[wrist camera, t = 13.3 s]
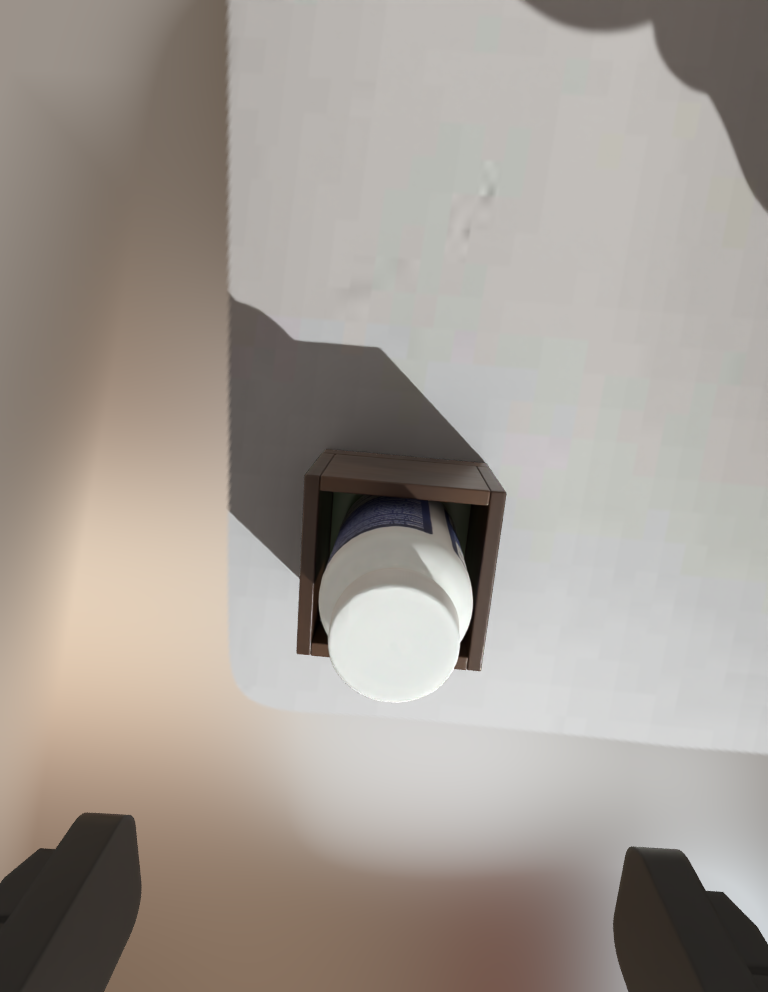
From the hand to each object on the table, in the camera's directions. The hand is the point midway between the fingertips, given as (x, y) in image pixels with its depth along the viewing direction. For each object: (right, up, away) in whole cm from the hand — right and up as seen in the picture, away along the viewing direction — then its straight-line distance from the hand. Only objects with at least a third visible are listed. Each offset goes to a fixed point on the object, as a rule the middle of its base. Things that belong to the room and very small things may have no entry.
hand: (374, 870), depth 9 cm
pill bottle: (+1, +4, +17) cm, 18 cm away
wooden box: (+1, +4, +18) cm, 19 cm away
